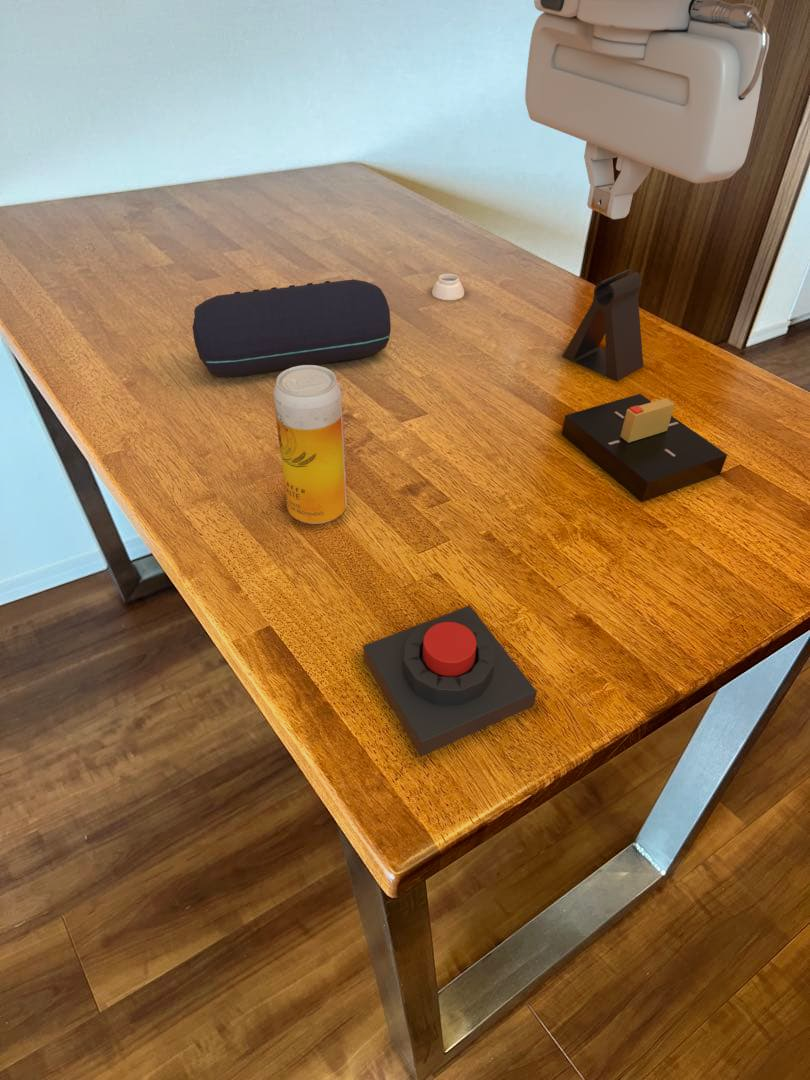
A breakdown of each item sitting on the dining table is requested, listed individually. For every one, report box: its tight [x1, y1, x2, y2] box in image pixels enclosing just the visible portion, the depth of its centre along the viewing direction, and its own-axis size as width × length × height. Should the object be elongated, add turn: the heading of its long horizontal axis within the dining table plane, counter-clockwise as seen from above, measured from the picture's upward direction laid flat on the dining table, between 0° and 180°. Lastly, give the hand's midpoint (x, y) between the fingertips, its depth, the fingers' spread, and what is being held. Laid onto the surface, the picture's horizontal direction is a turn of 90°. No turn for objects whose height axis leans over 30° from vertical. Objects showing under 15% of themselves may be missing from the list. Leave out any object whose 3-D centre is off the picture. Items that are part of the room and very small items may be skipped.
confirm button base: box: [362, 605, 538, 757], centre depth 57 cm, size 10×10×4 cm
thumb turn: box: [620, 397, 676, 443], centre depth 79 cm, size 6×1×4 cm, turn 117°
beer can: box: [272, 365, 348, 525], centre depth 70 cm, size 6×6×15 cm
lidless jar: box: [431, 273, 465, 301], centre depth 113 cm, size 5×3×5 cm
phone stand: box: [561, 268, 644, 382], centre depth 94 cm, size 9×6×12 cm, turn 43°
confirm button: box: [423, 622, 476, 677], centre depth 56 cm, size 4×4×2 cm
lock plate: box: [561, 393, 728, 503], centre depth 81 cm, size 14×11×3 cm
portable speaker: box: [191, 278, 392, 377], centre depth 94 cm, size 25×10×10 cm, turn 109°
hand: (607, 213), depth 56 cm, fingers closed
